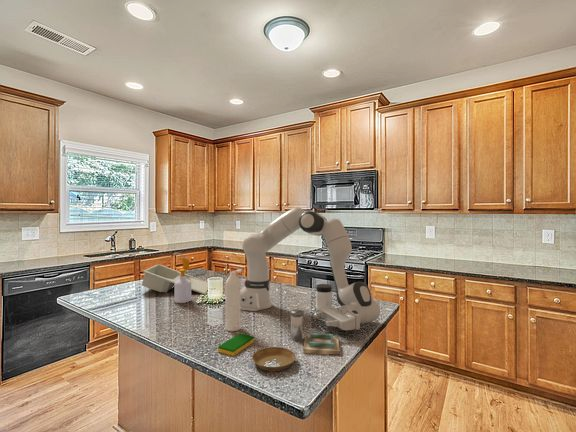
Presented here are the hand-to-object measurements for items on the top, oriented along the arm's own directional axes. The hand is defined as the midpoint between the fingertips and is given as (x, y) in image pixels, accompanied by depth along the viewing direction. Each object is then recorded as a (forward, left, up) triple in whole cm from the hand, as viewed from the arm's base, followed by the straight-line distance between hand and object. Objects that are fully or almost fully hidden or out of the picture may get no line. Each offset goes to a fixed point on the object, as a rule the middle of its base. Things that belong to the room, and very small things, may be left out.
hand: (320, 319), depth 131 cm
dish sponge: (-31, -16, -7) cm, 36 cm away
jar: (+2, +34, -6) cm, 35 cm away
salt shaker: (-9, -6, -6) cm, 13 cm away
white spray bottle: (-37, +2, -6) cm, 38 cm away
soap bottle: (-77, +37, -6) cm, 86 cm away
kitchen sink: (-91, +61, -6) cm, 110 cm away
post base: (+1, -12, -6) cm, 13 cm away
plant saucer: (-15, -27, -6) cm, 32 cm away
